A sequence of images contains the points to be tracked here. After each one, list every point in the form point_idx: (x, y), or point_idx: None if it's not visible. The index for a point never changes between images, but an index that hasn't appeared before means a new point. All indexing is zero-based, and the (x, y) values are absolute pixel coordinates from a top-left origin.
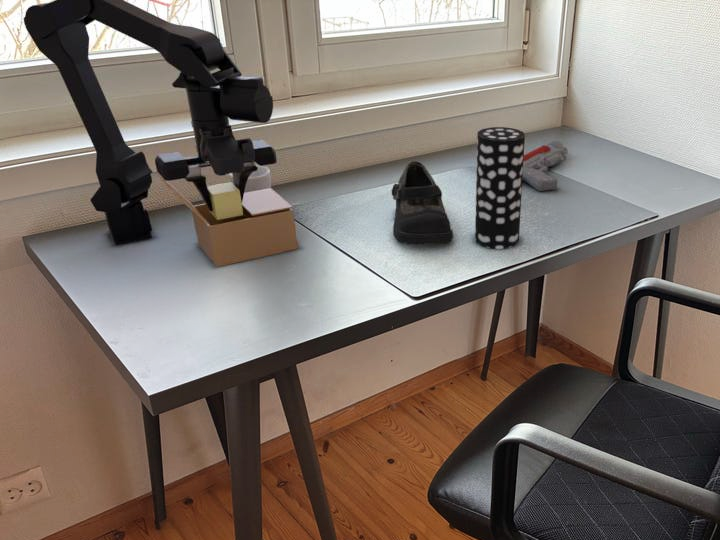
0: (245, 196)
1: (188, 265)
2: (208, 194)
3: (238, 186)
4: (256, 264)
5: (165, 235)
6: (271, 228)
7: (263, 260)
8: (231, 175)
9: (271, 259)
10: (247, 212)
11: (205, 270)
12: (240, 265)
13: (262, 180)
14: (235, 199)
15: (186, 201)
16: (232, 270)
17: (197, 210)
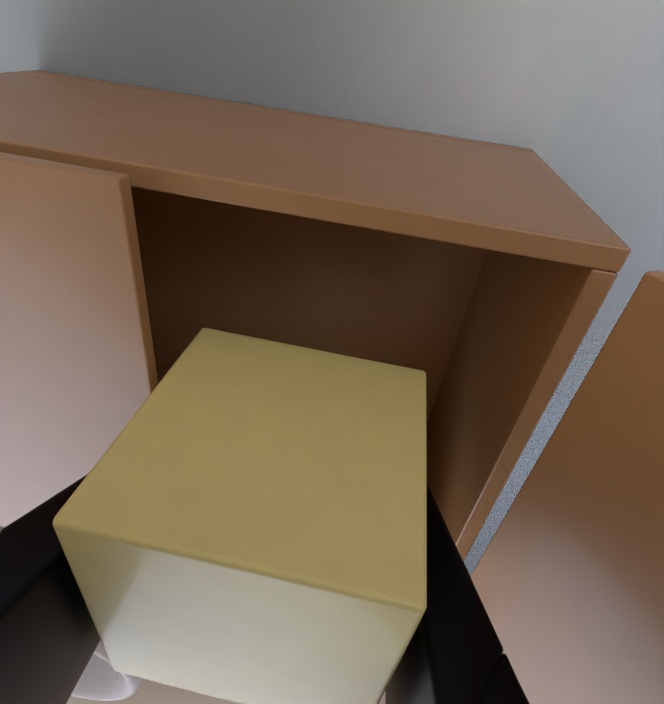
0: None
1: (619, 276)
2: (433, 637)
3: (48, 584)
4: (324, 12)
5: (479, 542)
6: (68, 114)
7: (263, 46)
8: (127, 678)
9: (216, 25)
10: None
11: (608, 151)
12: (411, 72)
13: None
14: (180, 443)
15: None
16: (492, 27)
17: (509, 534)
